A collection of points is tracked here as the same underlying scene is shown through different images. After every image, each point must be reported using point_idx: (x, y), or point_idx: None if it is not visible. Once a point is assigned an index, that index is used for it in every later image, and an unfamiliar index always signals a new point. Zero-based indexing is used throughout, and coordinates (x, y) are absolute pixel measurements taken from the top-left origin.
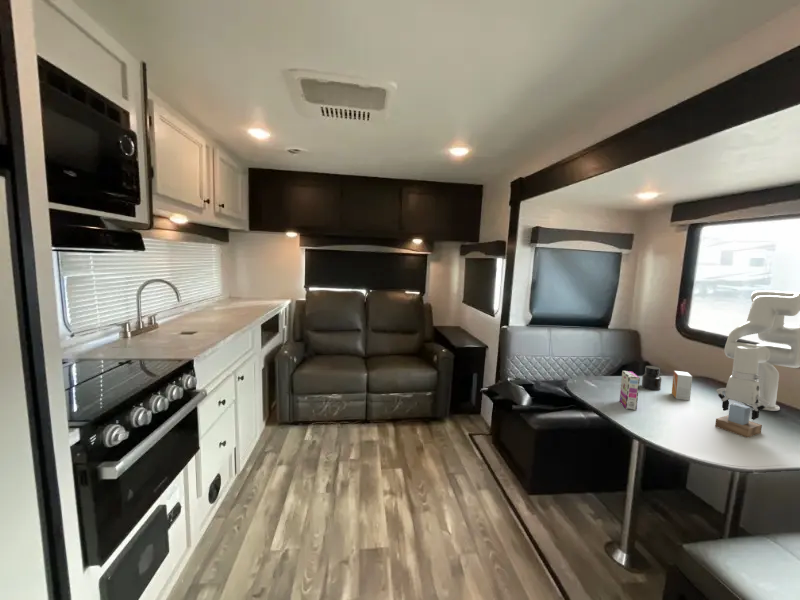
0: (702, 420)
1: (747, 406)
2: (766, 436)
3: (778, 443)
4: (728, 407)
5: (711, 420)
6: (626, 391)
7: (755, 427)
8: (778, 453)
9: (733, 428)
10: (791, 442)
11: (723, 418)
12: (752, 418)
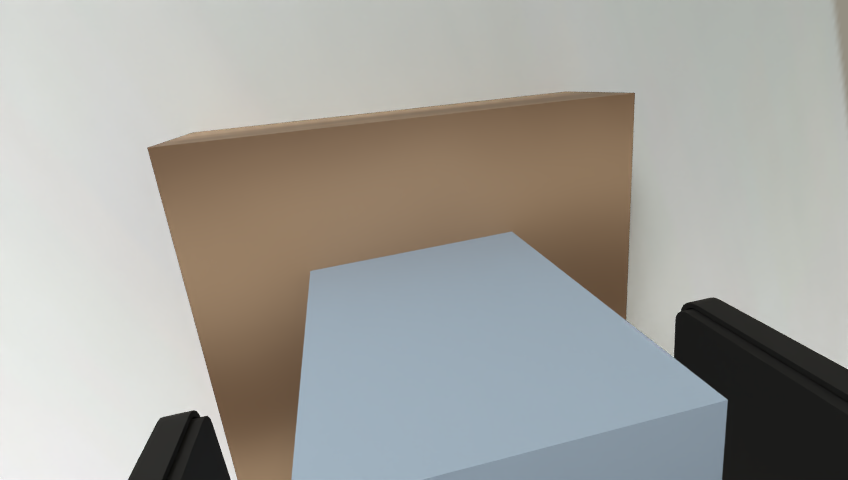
0: (75, 446)
1: (652, 427)
2: (638, 144)
3: (757, 218)
4: (193, 455)
5: (91, 329)
6: None
7: (623, 289)
8: None
9: None
10: (822, 35)
11: (275, 438)
12: None
